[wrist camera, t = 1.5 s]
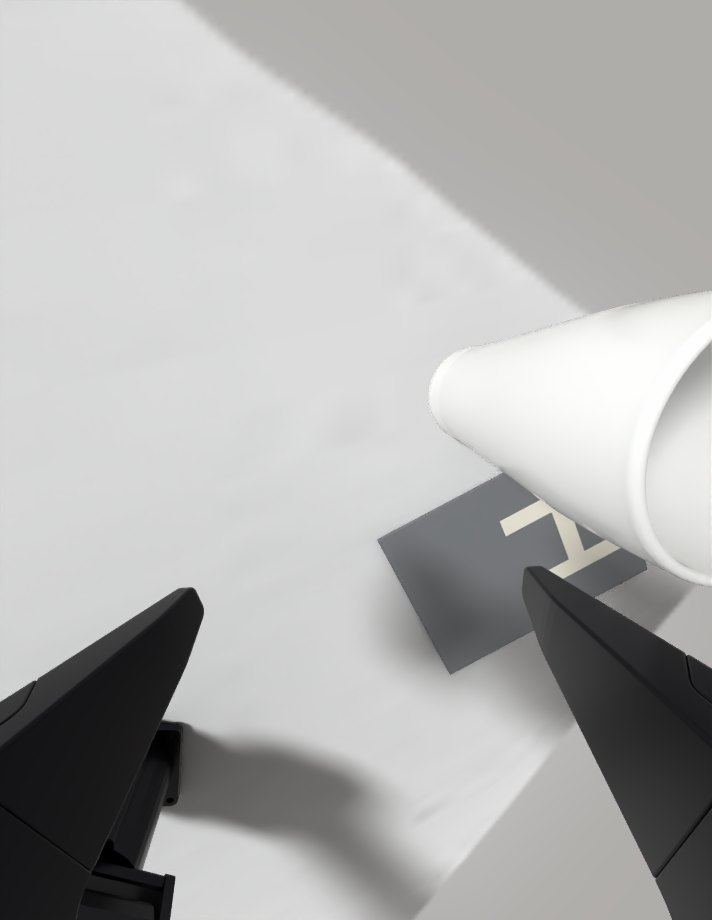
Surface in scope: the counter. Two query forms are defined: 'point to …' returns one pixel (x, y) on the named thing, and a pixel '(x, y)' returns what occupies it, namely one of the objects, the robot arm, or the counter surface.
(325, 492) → the counter surface
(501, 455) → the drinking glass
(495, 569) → the board
